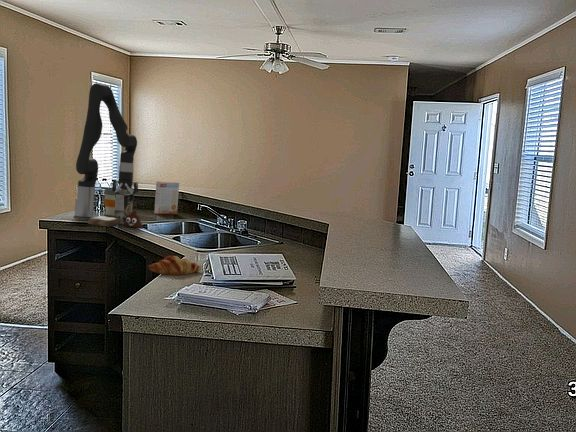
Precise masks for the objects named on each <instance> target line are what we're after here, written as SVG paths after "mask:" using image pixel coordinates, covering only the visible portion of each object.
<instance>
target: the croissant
mask: <svg viewBox="0 0 576 432" xmlns="http://www.w3.org/2000/svg"><path fill="white" fill-rule="evenodd" d="M147 268H148V270H150V271H151V272H153V273H156V274H160V275H170V276H178V275H179V276H181V275H183V276H184V275H187V274H193V273H199V272H200V271H201V270H202V265H199V264H198V263H196V262H192V261H191V260H189V259H187V258H180V257H179V256H177V255H167V256H166V257H164V258H163V259H161V260H160V259H159V261H158V262H153V263H151V264H148V266H147Z"/></svg>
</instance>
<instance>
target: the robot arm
mask: <svg viewBox="0 0 576 432" xmlns="http://www.w3.org/2000/svg"><path fill="white" fill-rule="evenodd" d="M102 102H103V103H104V105H105V106H106V108H107V110H108V117H109V118H108V119H109V122H110V124H111V126H112V128H113V130H114V131H115V134H116V140H117V142H118V144H119V145H120V146H121V147H123V148H124V151H122V152H121V153H120V154H119V155H120V159H119V167H118V180H115V179H113V180H112V186H111V187H112V188H111V189H112V191H114V192H115V198H116V194H119V191H120V190H125V191H127V190H128V191H129V192H130V201H133V202H134V200H135V195H136V194H138V193H139V183H138V182H134V181H133V179H134V160H135V159H134V158H135V157H134V155H135V153H136V150H137V146H138V138H137V137H136V136H135V135H134V134H129V133H128V132H127V131H128V129H129V128H128V125H127V123H126V121H125V119H124V117H123V115H122V113H121V111H120V110H119V106H118V104H117V101H116V99H115V96H114V92H113V90H112V88H111V87H110V85H108V84H104V83H97V82H95V83H93V84H92V85H91V86H90V89H89V93H88V105H87V112H86V113H87V114H86V118H85V122H84V123H85V124H84V128H83V129H84V130H83V135H82V140H81V144H80V149H79V152H78V156H77V159H76V163H75V169H76V172H77V173H78V174H79V175H84V177H82V179H80V180H78V182H77V194H76V196H77V197H76V198H75V200H74V215H73V216H75V217H79V218H92V217H94V207H95V193H96V190H95V188H96V183H97V182H98V181H97V180H98V173H99V163H98V161H97V159H95V158H93V157H90V156H91V152H92V151H93V149H94V147H95V146H96V144H98V142H99V141H100V138H101V136H102V131H103V120H102V116H101V112H100V108H101V103H102Z"/></svg>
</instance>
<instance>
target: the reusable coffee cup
mask: <svg viewBox="0 0 576 432" xmlns="http://www.w3.org/2000/svg"><path fill="white" fill-rule="evenodd" d="M126 191H127V190H126V189H121V190H120V191H119V194H127V193H126ZM103 194H104V198H103V202H104V203H103V204H104V210H105V215H107V216H112V217H114V212H115V199H116V198H115V192H114V191H112V188H105V189H104V191H103Z"/></svg>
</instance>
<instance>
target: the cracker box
mask: <svg viewBox="0 0 576 432" xmlns="http://www.w3.org/2000/svg"><path fill="white" fill-rule="evenodd" d="M179 189H180V182H177V181H161V180H159V181H156V183H155V197H154V212H153V213H154V214H155V215H177V214H178V205H179V204H178V203H179Z"/></svg>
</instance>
